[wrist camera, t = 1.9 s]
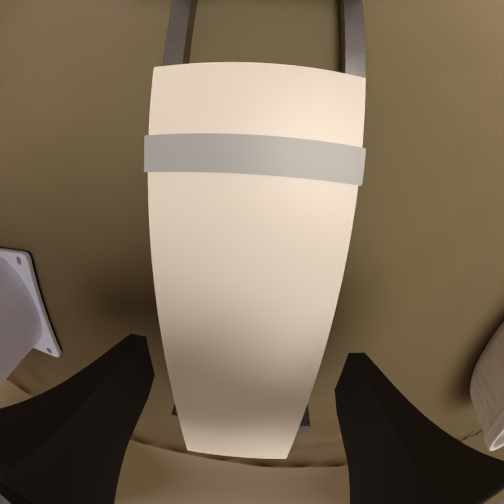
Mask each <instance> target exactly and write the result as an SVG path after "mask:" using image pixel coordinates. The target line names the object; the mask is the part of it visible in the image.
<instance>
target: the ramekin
mask: <svg viewBox="0 0 504 504" xmlns="http://www.w3.org/2000/svg"><path fill="white" fill-rule="evenodd" d="M470 395H471V400H472V403H473V405H474V408H475V411H476V414H477V416H478V419H479V421H480V424H481V427H482V429H483V432H484V435H485V436H484V442H485V444H486V446H487V448H488V449H489V450H490V451H493V450H496V449H498V448H500V447H502V446H503V445H504V321H503V323H502V324H501V325H500V327H499V328H498V329H497V331H496V332H495V334H494V335H493V336H492V338H491V339H490V341H489V342H488V344H487V345H486V347H485V349H484V351H483V352H482V354H481V356H480V358H479V360H478V362H477V364H476V366H475V368H474V371H473V374H472V378H471V385H470Z"/></svg>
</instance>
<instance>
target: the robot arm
mask: <svg viewBox="0 0 504 504" xmlns="http://www.w3.org/2000/svg"><path fill="white" fill-rule="evenodd" d="M32 348H35V349H37V350H40V351H42V352H45V353H47V354H50V355H52V356H55V357H59V356H60V355H61V350H60V348H59V346H58V343H57V341H56V338H55V336H54V333H53V330H52V328H51V325H50V322H49V319H48V317H47V314H46V311H45V308H44V305H43V301H42V298H41V295H40V291H39V288H38V284H37V281H36V277H35V273H34V269H33V265H32V260H31V257H30V255H29V254H28V253H27V252H25V251H17V250H10V249H3V248H0V386H1V385H2V384H3V383H4V381H5V380H6V379H7V378H8V376H9V375H10V374H11V373H12V372H13V370H14V369H15V368H16V367H17V366H18V364H19V363H20V362H21V361H22V360H23V358H24V357H25V356H26V355H27V354H28V353H29V352H30V350H31V349H32ZM154 375H155V374H154V370H153V366H152V362H151V358H150V354H149V349H148V345H147V340H146V336H140V335H135V334H130V335H129V336H127V337H126V338H125V339H123V340H122V341H121V342H119V343H118V344H117V345H115V346H114V347H113V348H111V349H110V350H109V351H107V352H106V353H105V354H103V355H102V356H101V357H99V358H98V359H97V360H95V361H94V362H93V363H91V364H90V365H89V366H87V367H86V368H84V369H83V370H81V371H80V372H78V373H77V374H75V375H74V376H72V377H71V378H69V379H68V380H66V381H64V382H63V383H61V384H59V385H58V386H56V387H54V388H52V389H50V390H48V391H46V392H44V393H42V394H40V395H37V396H35V397H33V398H30V399H28V400H26V401H23V402H20V403H18V404H15V405H11V406H8V407H4V408H0V504H114V501H115V495H116V489H117V483H118V479H119V474H120V469H121V466H122V462H123V458H124V455H125V451H126V448H127V445H128V442H129V440H130V438H131V435H132V433H133V431H134V429H135V426H136V424H137V422H138V419H139V417H140V415H141V413H142V410H143V408H144V406H145V403H146V401H147V399H148V396H149V393H150V389H151V386H152V382H153V379H154ZM335 398H336V409H337V416H338V420H339V425H340V430H341V434H342V439H343V443H344V448H345V452H346V457H347V462H348V469H349V481H350V504H483V503H484V502H486V501H487V500H489V499H490V498H492V497H493V496H495V495H496V494H498V493H499V492H500V491H502V490H503V489H504V461H502V460H499V459H496V458H493V457H491V456H488V455H486V454H483V453H481V452H479V451H477V450H475V449H473V448H471V447H469V446H467V445H465V444H463V443H462V442H460V441H458V440H457V439H455V438H454V437H452V436H451V435H449V434H448V433H446V432H445V431H443V430H442V429H440V428H439V427H438V426H437V425H435V424H434V423H433V422H432V421H430V420H429V419H428V418H427V417H425V416H424V415H423V414H422V413H421V412H420V411H419V410H418V409H417V408H416V407H415V406H413V405H412V404H411V403H410V402H409V401H408V400H407V399H406V398H405V397H404V396H403V395H402V394H401V393H400V391H399V390H398V389H397V388H396V387H395V386H394V385H393V384H392V383H391V382H390V381H389V380H388V378H387V377H386V376H385V375H384V374H383V373H382V372H381V371H380V369H379V368H378V367H377V366H376V365H375V364H374V363H373V361H372V360H371V359H370V358H369V357H368V356H367V355H366V354H365V353H349V354H348V357H347V360H346V362H345V365H344V368H343V370H342V373H341V376H340V378H339V381H338V383H337V386H336V388H335ZM499 504H504V501H502V502H501V503H499Z"/></svg>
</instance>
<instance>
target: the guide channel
mask: <svg viewBox="0 0 504 504" xmlns="http://www.w3.org/2000/svg"><path fill="white" fill-rule="evenodd" d="M196 6H197V0H173V4H172V9H171V14H170V19H169V25H168V31H167V38H166V44H165V51H164V59H163V66H169V65H179V64H189V56H190V47H191V40H192V32H193V25H194V18H195V12H196ZM339 15H340V73H345V74H350V75H355V76H359V77H363V78H365V34H364V18H363V6H362V0H339ZM171 415H172V419H173V422H176V423H180V421H179V418H178V414H177V410H176V406H175V405H174V408H173V411H172V414H171ZM309 428H310V420H309V412H308V404H307V407H306V409H305V412H304V415H303V418H302V420H301V423H300V426H299V428H298V431H297V433H307V432H308V430H309Z"/></svg>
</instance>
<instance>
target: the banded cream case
mask: <svg viewBox="0 0 504 504" xmlns="http://www.w3.org/2000/svg"><path fill="white" fill-rule="evenodd" d="M365 81H366V78H363V77H359V76H355V75H350V74H345V73H340V72H335V71H329V70H323V69H317V68H310V67H302V66H294V65H284V64H271V63H252V62H210V63H191V64H179V65H169V66H161V67H154V71H153V80H152V91H151V103H150V117H149V135H145V140H144V172H148V206H149V228H150V244H151V257H152V268H153V278H154V287H155V295H156V303H157V311H158V318H159V324H160V331H161V337H162V343H163V349H164V354H165V359H166V365H167V370H168V375H169V379H170V384H171V389H172V393H173V397H174V402H175V406H176V410H177V414H178V418H179V421H180V425H181V429H182V432H183V436H184V440H185V443H186V446H187V450H189V451H195V452H201V453H208V454H216V455H224V456H234V457H247V458H269V459H286V458H287V456H288V453H289V451H290V449H291V446H292V444H293V441H294V439H295V436H296V434H297V431H298V428H299V426H300V423H301V420H302V418H303V415H304V412H305V409H306V407H307V404H308V401H309V398H310V395H311V392H312V389H313V386H314V383H315V380H316V377H317V374H318V370H319V367H320V364H321V361H322V357H323V354H324V350H325V347H326V343H327V340H328V336H329V332H330V329H331V325H332V321H333V317H334V313H335V309H336V305H337V301H338V296H339V292H340V288H341V283H342V278H343V274H344V269H345V264H346V259H347V254H348V248H349V243H350V237H351V231H352V225H353V219H354V213H355V206H356V199H357V191H358V185H361V186H362V182H363V173H364V164H365V154H366V148H362V144H363V131H364V113H365Z"/></svg>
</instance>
